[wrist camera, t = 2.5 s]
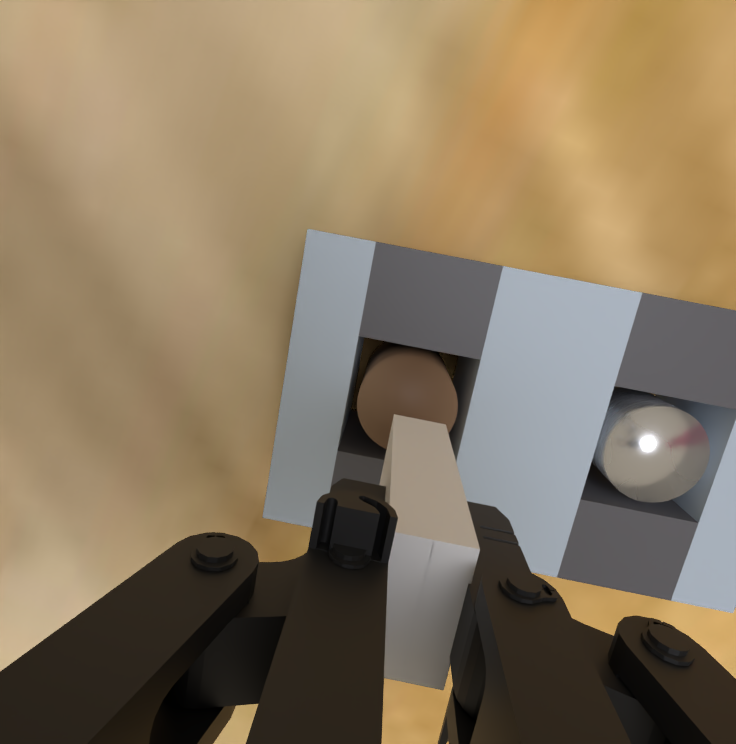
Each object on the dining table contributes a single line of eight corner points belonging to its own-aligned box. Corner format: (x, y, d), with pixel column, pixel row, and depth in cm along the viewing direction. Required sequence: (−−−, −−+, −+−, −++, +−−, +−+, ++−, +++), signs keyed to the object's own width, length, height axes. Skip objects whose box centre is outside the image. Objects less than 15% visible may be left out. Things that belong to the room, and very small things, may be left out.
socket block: (291, 463, 28) (262, 517, 22) (329, 236, 25) (307, 228, 19) (662, 538, 28) (733, 613, 22) (739, 314, 25) (843, 330, 19)
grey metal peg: (551, 442, 27) (592, 491, 21) (572, 367, 26) (620, 397, 20) (628, 457, 27) (691, 511, 21) (652, 383, 26) (724, 417, 20)
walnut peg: (359, 404, 27) (348, 442, 21) (374, 328, 26) (366, 347, 20) (436, 419, 27) (445, 462, 21) (453, 344, 26) (468, 367, 20)
